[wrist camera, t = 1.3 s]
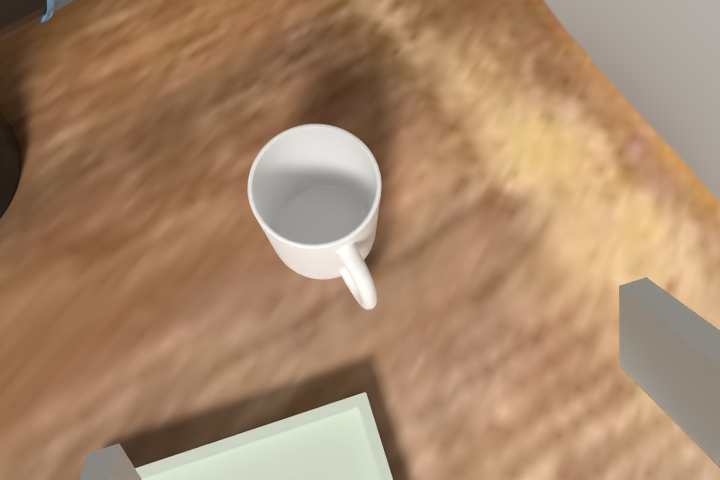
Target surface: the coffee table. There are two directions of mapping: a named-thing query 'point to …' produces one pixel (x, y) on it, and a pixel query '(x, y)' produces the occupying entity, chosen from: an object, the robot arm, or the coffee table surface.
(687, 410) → the robot arm
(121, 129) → the coffee table surface
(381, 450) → the sage tray
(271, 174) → the cup
